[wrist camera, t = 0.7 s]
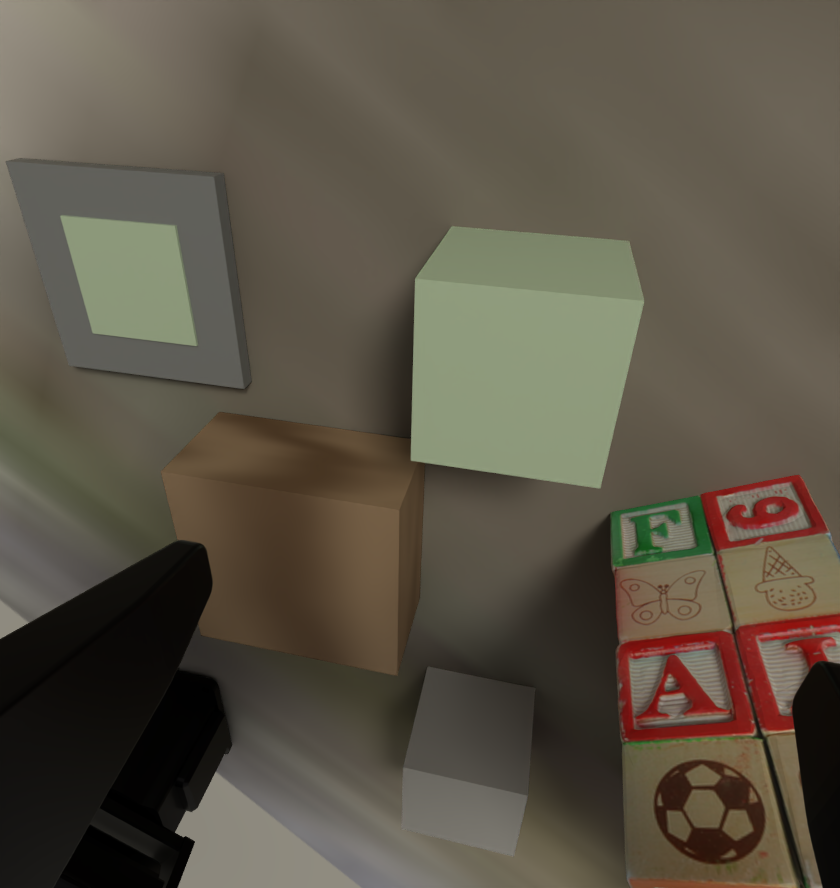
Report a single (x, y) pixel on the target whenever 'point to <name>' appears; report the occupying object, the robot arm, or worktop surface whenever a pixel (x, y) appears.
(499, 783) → the grey cube
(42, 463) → the worktop surface
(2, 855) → the robot arm
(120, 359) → the slate card
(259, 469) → the walnut base block
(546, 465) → the sage cube
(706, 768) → the stack of blocks
